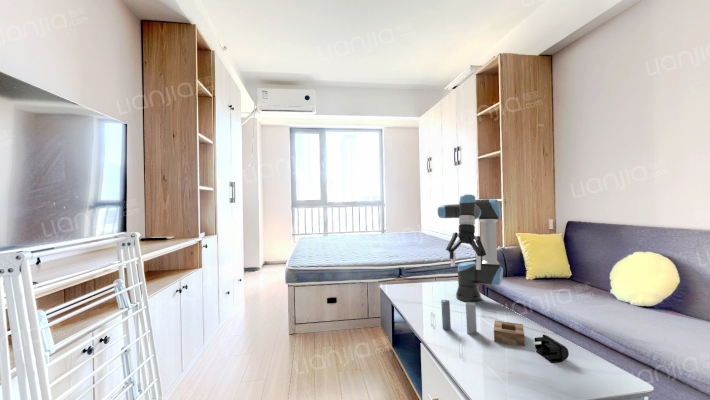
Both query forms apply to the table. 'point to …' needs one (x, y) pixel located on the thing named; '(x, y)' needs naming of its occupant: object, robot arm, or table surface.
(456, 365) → the table surface
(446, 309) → the round peg
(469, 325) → the square peg
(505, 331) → the socket block
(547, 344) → the end cap
